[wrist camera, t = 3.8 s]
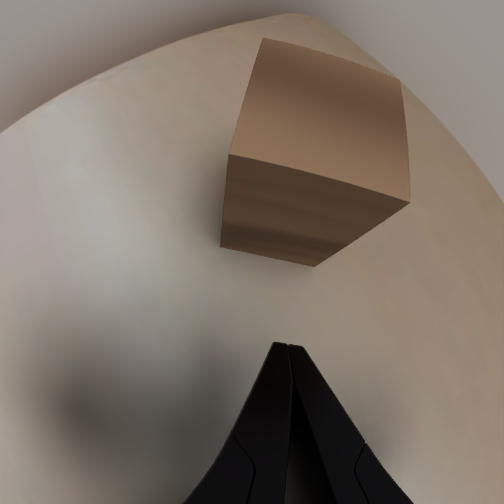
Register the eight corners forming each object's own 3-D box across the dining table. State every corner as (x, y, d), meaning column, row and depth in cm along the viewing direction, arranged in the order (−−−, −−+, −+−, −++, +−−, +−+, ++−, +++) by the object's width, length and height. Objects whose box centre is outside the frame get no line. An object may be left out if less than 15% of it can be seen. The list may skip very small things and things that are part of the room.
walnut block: (314, 266, 16) (410, 202, 8) (220, 246, 16) (228, 153, 7) (324, 183, 18) (399, 80, 9) (239, 163, 17) (262, 37, 9)
